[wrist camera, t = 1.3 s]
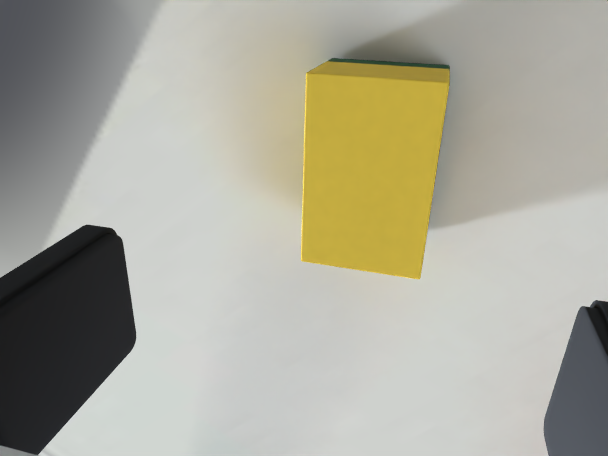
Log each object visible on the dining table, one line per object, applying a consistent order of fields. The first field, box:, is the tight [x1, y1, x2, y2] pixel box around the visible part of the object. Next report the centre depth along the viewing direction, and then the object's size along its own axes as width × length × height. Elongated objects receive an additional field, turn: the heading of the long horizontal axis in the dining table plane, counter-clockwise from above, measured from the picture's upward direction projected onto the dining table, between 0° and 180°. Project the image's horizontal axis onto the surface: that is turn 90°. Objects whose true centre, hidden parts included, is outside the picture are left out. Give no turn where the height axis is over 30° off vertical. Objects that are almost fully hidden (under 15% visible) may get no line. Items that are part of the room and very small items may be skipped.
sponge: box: [301, 58, 450, 279], centre depth 19 cm, size 7×4×4 cm, turn 178°
